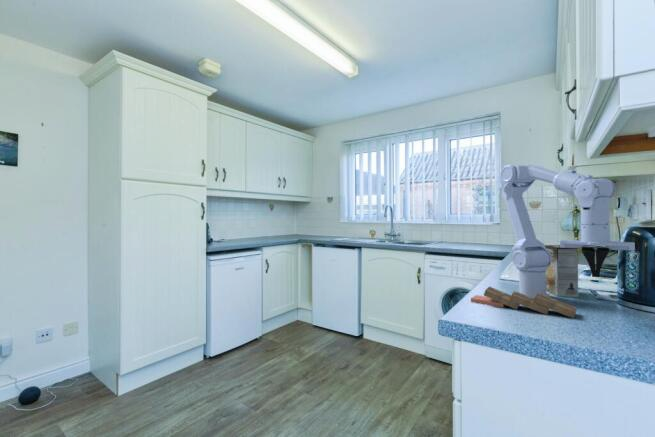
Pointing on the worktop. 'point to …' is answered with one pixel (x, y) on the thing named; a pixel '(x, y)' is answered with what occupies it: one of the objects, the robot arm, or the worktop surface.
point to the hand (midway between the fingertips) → (595, 276)
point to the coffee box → (562, 271)
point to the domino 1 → (486, 301)
